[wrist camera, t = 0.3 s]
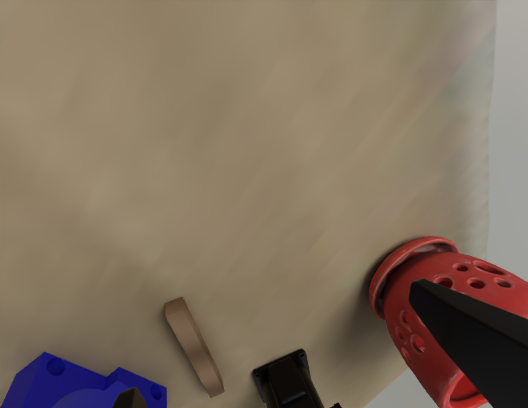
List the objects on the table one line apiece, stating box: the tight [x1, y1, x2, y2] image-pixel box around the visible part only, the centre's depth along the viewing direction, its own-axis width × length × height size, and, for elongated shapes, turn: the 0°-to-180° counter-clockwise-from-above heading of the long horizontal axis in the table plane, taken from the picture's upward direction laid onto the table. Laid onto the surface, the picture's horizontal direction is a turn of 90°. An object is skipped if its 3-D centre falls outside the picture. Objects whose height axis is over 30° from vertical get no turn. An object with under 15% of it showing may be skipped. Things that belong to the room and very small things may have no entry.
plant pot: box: [369, 236, 528, 408], centre depth 28 cm, size 13×13×12 cm
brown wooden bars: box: [165, 297, 224, 398], centre depth 25 cm, size 13×19×2 cm
